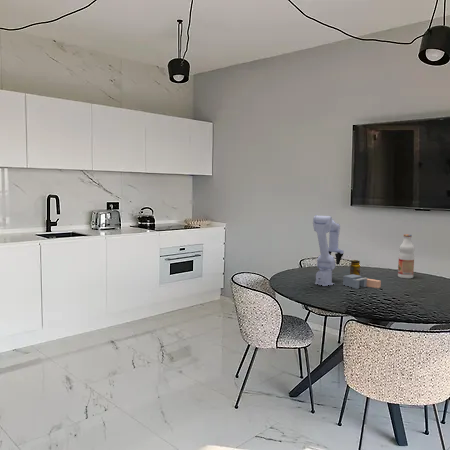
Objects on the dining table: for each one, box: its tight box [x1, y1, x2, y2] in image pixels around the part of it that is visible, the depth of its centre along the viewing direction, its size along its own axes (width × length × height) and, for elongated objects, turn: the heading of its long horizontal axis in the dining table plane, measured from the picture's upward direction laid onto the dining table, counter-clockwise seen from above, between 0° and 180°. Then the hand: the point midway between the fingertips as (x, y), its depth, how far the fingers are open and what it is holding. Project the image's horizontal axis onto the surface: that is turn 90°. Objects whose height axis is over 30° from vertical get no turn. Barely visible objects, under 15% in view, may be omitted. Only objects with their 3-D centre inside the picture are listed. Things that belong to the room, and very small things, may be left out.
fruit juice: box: [397, 233, 415, 279], centre depth 291 cm, size 9×9×28 cm
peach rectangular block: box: [367, 278, 382, 289], centre depth 265 cm, size 9×3×4 cm, turn 48°
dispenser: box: [342, 274, 368, 290], centre depth 265 cm, size 10×9×6 cm
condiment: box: [349, 259, 361, 276], centre depth 284 cm, size 7×8×12 cm
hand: (333, 263), depth 281 cm, fingers open, 7 cm apart
